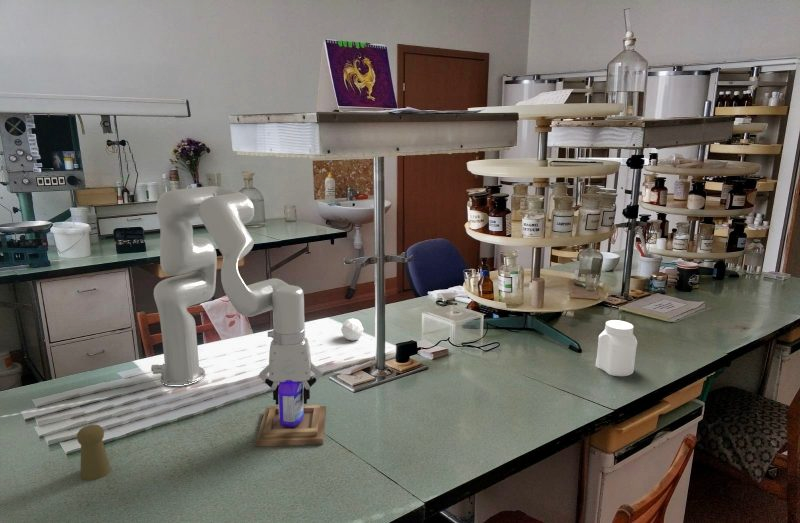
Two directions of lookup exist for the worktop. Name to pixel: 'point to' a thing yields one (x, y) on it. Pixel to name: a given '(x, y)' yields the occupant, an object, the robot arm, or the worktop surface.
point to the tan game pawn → (93, 453)
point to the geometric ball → (352, 329)
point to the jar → (617, 348)
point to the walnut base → (299, 435)
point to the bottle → (290, 403)
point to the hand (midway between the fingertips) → (291, 401)
